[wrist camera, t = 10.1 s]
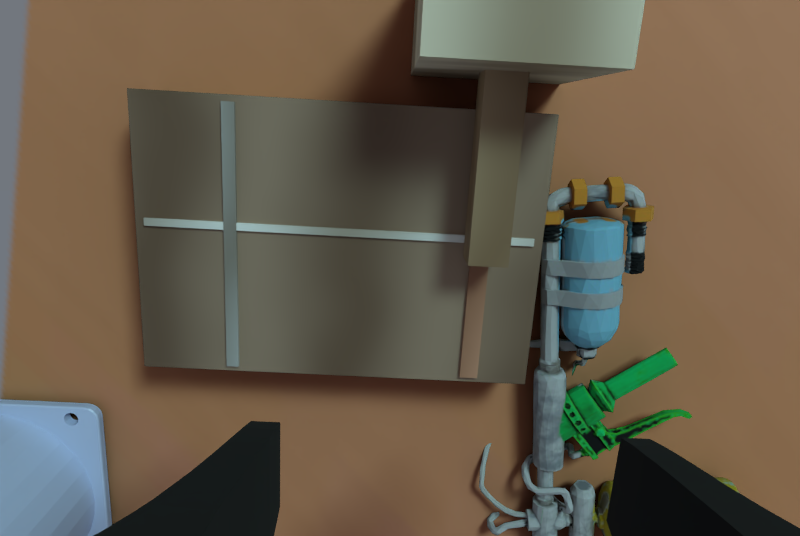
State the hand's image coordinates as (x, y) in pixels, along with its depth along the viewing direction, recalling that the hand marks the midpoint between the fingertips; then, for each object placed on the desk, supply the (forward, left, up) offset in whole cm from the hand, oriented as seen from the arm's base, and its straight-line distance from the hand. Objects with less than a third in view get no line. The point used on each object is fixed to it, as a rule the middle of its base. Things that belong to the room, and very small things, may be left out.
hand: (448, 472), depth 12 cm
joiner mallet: (+2, +7, -10) cm, 12 cm away
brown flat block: (-3, +3, -9) cm, 10 cm away
